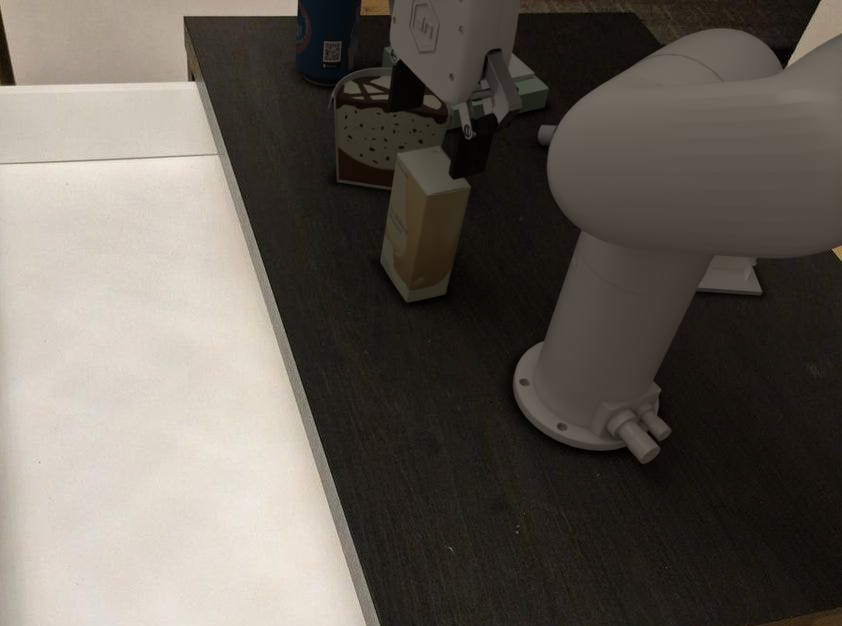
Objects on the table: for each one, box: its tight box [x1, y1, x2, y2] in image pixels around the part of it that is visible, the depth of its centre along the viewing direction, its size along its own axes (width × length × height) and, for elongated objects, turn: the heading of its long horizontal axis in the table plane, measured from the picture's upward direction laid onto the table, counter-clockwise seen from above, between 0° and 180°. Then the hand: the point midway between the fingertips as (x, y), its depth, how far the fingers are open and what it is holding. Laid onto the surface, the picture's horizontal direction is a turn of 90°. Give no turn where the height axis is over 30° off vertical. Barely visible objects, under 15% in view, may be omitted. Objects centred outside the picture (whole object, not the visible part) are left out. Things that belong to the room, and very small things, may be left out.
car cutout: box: [696, 255, 763, 296], centre depth 93 cm, size 15×7×4 cm, turn 91°
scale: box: [381, 43, 550, 131], centre depth 110 cm, size 14×14×3 cm
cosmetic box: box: [380, 146, 472, 304], centre depth 85 cm, size 6×4×12 cm
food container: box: [326, 67, 455, 191], centre depth 96 cm, size 12×6×10 cm, turn 84°
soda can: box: [295, 0, 362, 87], centre depth 105 cm, size 7×7×12 cm
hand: (434, 140), depth 78 cm, fingers open, 9 cm apart
